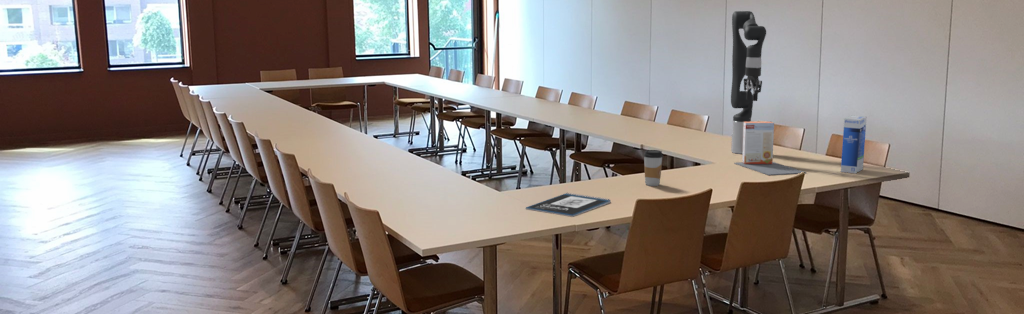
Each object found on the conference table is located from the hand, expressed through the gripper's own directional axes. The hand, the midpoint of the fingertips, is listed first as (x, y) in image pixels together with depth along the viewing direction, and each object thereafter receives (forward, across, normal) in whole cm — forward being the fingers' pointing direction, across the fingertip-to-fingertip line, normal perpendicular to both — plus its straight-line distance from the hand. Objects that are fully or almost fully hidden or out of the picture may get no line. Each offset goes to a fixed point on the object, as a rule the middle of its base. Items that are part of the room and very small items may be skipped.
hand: (751, 100), depth 436 cm
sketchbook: (+32, +69, -120) cm, 142 cm away
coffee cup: (+31, +40, -71) cm, 87 cm away
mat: (+31, +19, 0) cm, 37 cm away
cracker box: (+31, +8, 0) cm, 32 cm away
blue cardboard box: (+32, +35, +35) cm, 59 cm away
